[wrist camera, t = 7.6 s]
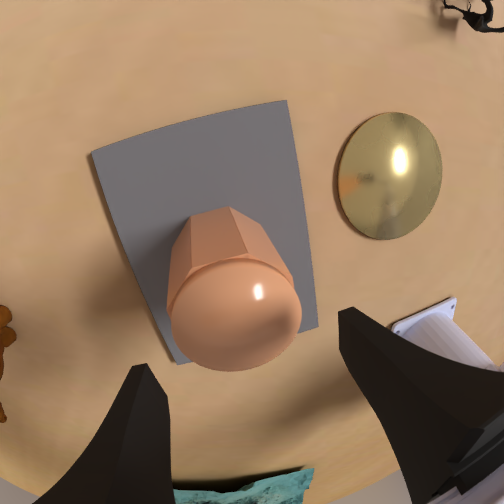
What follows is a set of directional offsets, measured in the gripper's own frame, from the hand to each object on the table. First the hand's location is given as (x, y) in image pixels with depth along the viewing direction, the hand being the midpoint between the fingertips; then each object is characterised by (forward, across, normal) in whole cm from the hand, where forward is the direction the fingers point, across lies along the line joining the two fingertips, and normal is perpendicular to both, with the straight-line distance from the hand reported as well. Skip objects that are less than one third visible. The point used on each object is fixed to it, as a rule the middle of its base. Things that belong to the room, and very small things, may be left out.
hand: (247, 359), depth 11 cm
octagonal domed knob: (+9, 0, 0) cm, 9 cm away
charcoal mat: (+9, 0, 0) cm, 9 cm away
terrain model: (+10, +13, +42) cm, 45 cm away
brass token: (+9, -12, -2) cm, 16 cm away
